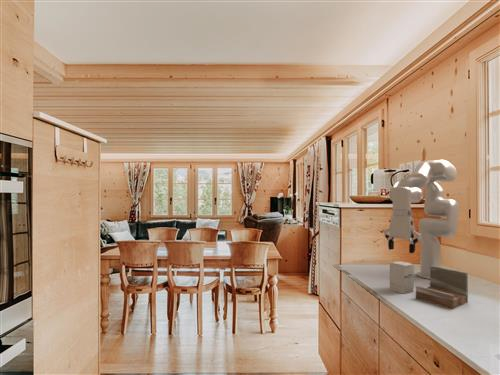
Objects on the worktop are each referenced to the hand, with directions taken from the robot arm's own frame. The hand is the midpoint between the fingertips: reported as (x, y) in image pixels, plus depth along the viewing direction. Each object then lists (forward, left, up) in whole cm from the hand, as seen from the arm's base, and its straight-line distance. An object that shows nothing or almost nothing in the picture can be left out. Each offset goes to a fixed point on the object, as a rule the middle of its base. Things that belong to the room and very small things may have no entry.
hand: (401, 251), depth 140 cm
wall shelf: (-2, +16, -18) cm, 24 cm away
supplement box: (0, 0, -18) cm, 18 cm away
